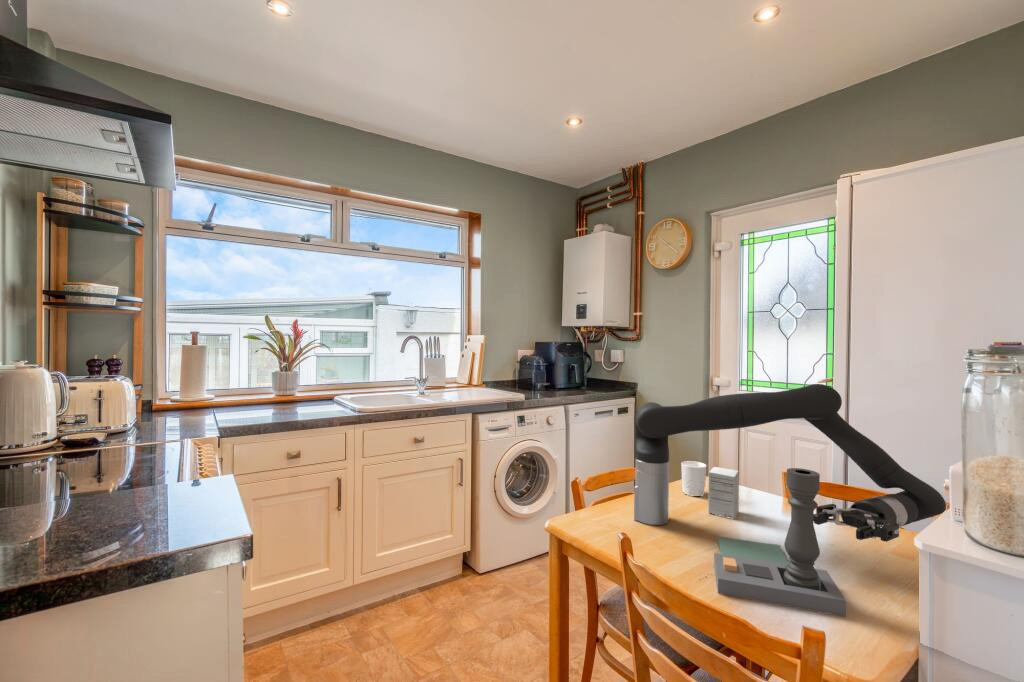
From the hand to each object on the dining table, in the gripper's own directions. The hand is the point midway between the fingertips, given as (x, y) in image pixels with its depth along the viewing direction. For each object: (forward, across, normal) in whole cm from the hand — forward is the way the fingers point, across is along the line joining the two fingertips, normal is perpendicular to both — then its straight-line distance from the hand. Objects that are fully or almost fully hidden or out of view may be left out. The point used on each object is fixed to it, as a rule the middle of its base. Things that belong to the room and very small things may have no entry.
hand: (835, 526), depth 98 cm
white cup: (-16, -54, +12) cm, 57 cm away
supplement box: (-11, -38, +12) cm, 41 cm away
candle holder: (+11, 0, +12) cm, 17 cm away
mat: (+6, -16, +12) cm, 20 cm away
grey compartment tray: (+15, -4, +12) cm, 19 cm away
